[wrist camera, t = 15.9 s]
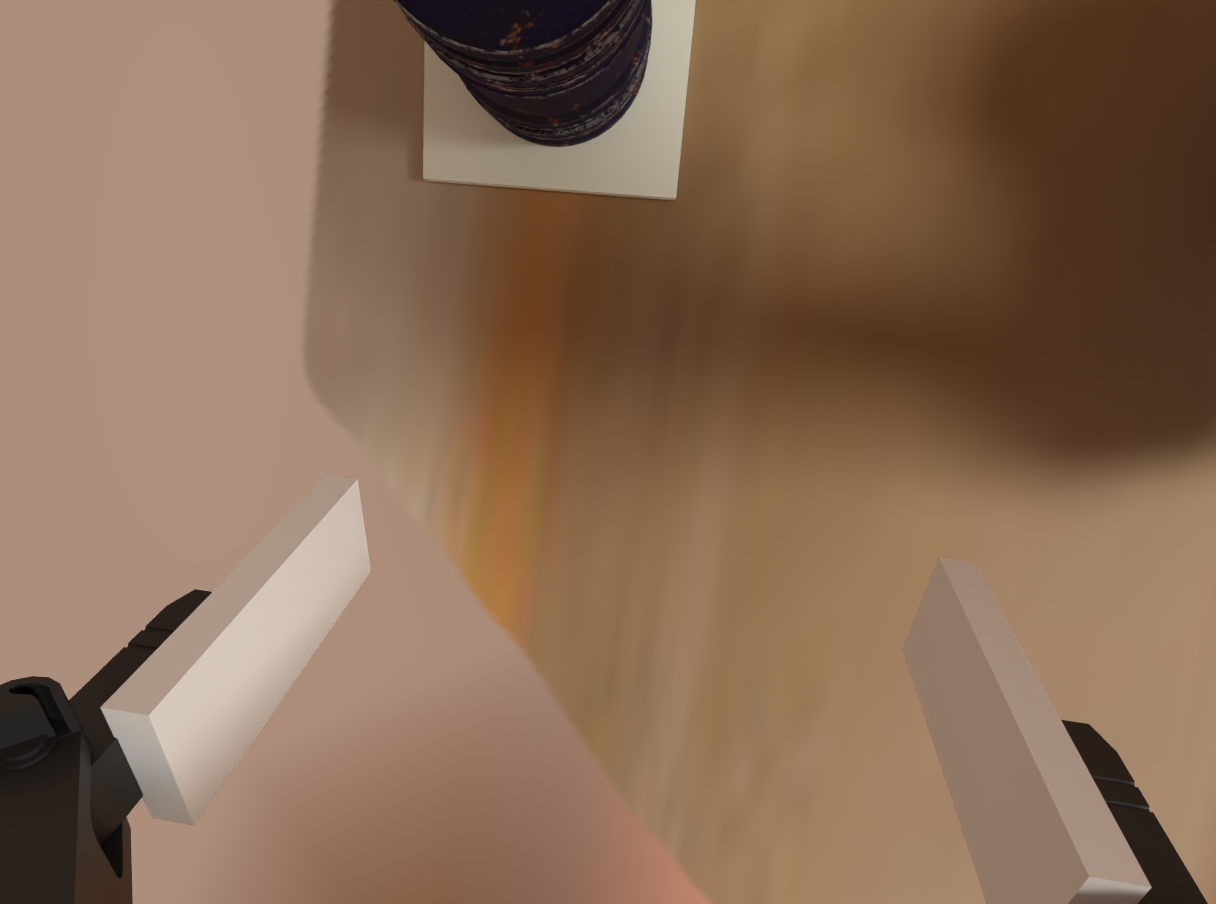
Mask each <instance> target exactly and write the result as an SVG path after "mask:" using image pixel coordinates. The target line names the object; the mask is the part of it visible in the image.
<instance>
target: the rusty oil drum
mask: <svg viewBox="0 0 1216 904" xmlns="http://www.w3.org/2000/svg"><path fill="white" fill-rule="evenodd" d="M394 1H395V2H396V3H397V5H398V6H399V7H400V8H401V10H402V12H403V13H404V15H405V17H406V18H407V20H408V21H409V22H410V24H411V25H412V26H413V27H414V28H415V30H416V31H417V32H418V33H419V34H420V36H421V37H422V38H423V39H424V40H425V42H426V43H427V44H428V45H429V46H430V47H431V48H432V50H433V51H434V52H435V53H436V55H437V56H438V57H439V58H440V59H441V60H442V61H443V62H444V63H445V64H446V65H447V66H449V67H450V68H451V69H452V70H453V71H454V72H455V73H457V74H458V75H459V77H460V78H461V80H462V81H463V83H464V85H465V86H466V88H467V90H468V91H469V92H470V93H471V95H472V96H473V97H474V98H475V100H476V101H477V102H478V103H479V104H480V106H481V107H482V108H483V109H484V110H485V111H486V112H488V113H489V114H490V115H491V116H492V117H493V118H494V119H495V120H497V121H498V122H499V123H500V124H501V125H502V126H503V127H504V128H505V129H507V130H508V131H510V132H511V133H513V134H514V135H516V136H518V137H519V138H522V139H524V140H526V141H529V142H531V143H535V144H539V145H543V146H551V147H565V146H574V145H577V144H581V143H585V142H587V141H590V140H592V139H594V138H596V137H598V136H600V135H601V134H603V133H604V132H606V131H607V130H609V129H610V128H611V127H613V126H614V125H615V124H616V123H617V122H618V121H619V120H620V119H621V118H622V117H623V115H624V114H625V113H626V112H627V110H628V109H629V108H630V107H631V105H632V103H633V101H634V100H635V98H636V96H637V94H638V92H639V90H640V87H641V84H642V82H643V79H644V76H645V71H646V67H647V62H648V54H649V50H650V46H651V34H652V2H651V0H394Z"/></svg>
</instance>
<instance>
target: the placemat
mask: <svg viewBox="0 0 1216 904" xmlns="http://www.w3.org/2000/svg"><path fill="white" fill-rule="evenodd" d="M695 1H696V0H651V2H652V34H651V46H650V50H649V54H648V62H647V67H646V71H645V76H644V79H643V82H642V84H641V87H640V90H639V92H638V94H637V96H636V98H635V100H634V101H633V103H632V105H631V107H630V108H629V109H628V110H627V112H626V113H625V114H624V115H623V117H622V118H621V119H620V120H619V121H618V122H617V123H616V124H615V125H614V126H613V127H611V128H610V129H609V130H607V131H606V132H604V133H603V134H601V135H600V136H598V137H596V138H594V139H592V140H590V141H587V142H585V143H581V144H577V145H574V146H565V147H551V146H543V145H539V144H535V143H531V142H529V141H526V140H524V139H522V138H519V137H518V136H516V135H514V134H513V133H511V132H510V131H508V130H507V129H505V128H504V127H503V126H502V125H501V124H500V123H499V122H498V121H497V120H495V119H494V118H493V117H492V116H491V115H490V114H489V113H488V112H486V111H485V110H484V109H483V108H482V107H481V106H480V104H479V103H478V102H477V101H476V100H475V98H474V97H473V96H472V95H471V93H470V92H469V91H468V90H467V88H466V86H465V85H464V83H463V81H462V80H461V78H460V77H459V75H458V74H457V73H455V72H454V71H453V70H452V69H451V68H450V67H449V66H447V65H446V64H445V63H444V62H443V61H442V60H441V59H440V58H439V57H438V56H437V55H436V53H435V52H434V51H433V50H432V48H431V47H430V46H429V45H428V44H427V43H426V42H425V40H424V133H423V179H425V180H427V181H432V182H445V183H458V184H470V185H483V186H496V187H508V188H521V189H534V190H546V191H559V192H571V193H584V194H597V195H609V196H622V197H635V198H647V199H660V200H673V201H675V200H676V194H677V184H678V174H679V164H680V154H681V144H682V133H683V123H684V113H685V103H686V93H687V83H688V73H689V62H690V52H691V42H692V32H693V22H694V12H695Z"/></svg>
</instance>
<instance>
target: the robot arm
mask: <svg viewBox="0 0 1216 904" xmlns="http://www.w3.org/2000/svg"><path fill="white" fill-rule="evenodd" d="M370 571H371V570H370V563H369V556H368V548H367V542H366V534H365V527H364V520H363V514H362V507H361V500H360V493H359V486H358V479H352V478H345V477H337V476H330V475H326V476H325V477H324V478H323V479H322V480H321V481H320V482H319V483H318V484H317V485H316V486H315V487H314V488H313V489H312V490H311V491H310V492H309V493H308V494H307V495H306V496H305V497H304V498H303V499H302V500H301V501H300V503H299V504H298V505H297V506H296V507H295V508H294V509H293V510H292V511H291V512H290V513H289V514H288V515H287V516H286V517H285V518H284V519H283V520H282V521H281V522H280V523H279V524H278V525H277V526H276V527H275V528H274V530H272V531H271V532H270V533H269V534H268V535H267V536H266V538H265V539H264V540H263V541H262V542H261V543H260V544H259V545H258V546H257V547H256V548H255V549H254V550H253V551H252V552H251V553H250V554H249V555H248V556H247V557H246V558H245V559H244V560H243V561H242V562H241V563H240V564H239V565H238V566H237V567H236V568H235V569H234V570H233V572H232V573H231V574H230V575H229V576H228V577H227V578H226V579H225V580H224V581H223V582H222V583H221V584H220V585H219V586H218V587H217V588H216V589H215V590H214V591H213V592H209V591H202V590H196V589H195V590H193V591H191V592H190V593H188V594H186V595H185V596H183V597H181V598H180V599H178V600H176V601H175V602H173V603H171V604H169V605H167V606H166V607H165V608H164V609H163V610H162V611H161V612H160V613H159V614H158V615H157V616H156V617H155V618H154V619H153V620H152V621H151V622H150V623H149V624H148V625H147V626H146V629H145V630H144V631H143V630H142V631H140V632H139V633H138V634H137V635H136V636H135V637H134V638H133V639H132V640H131V641H130V642H129V643H128V647H127V648H125V647H124V648H123V649H122V650H121V651H120V652H119V653H118V654H117V655H116V656H114V657H113V658H112V659H111V660H110V661H109V662H108V663H107V665H105V666H104V667H103V668H102V669H101V670H100V671H99V672H98V673H97V674H96V675H95V676H94V677H93V678H92V679H91V680H90V681H89V682H88V683H87V684H86V685H85V686H84V687H82V689H80V690H79V692H77V693H76V694H75V695H74V696H73V697H72V698H71V699H70V700H69V701H68V699H67V697H66V695H65V693H64V691H63V689H62V687H61V685H60V683H58V682H56V681H54V680H53V679H51V678H49V677H34V676H32V677H27V678H22V679H17V680H11V681H9V682H6V683H4V684H2V685H0V904H132V866H131V829H130V825H129V823H128V820H127V817H126V816H127V815H128V814H129V812H130V811H131V810H132V809H133V808H134V806H135V805H136V804H137V802H138V801H139V800H140V799H141V797H142V798H143V800H144V802H145V804H146V806H147V808H148V811H149V813H150V815H151V817H152V818H156V819H161V820H167V821H172V822H178V823H183V824H188V825H195V824H196V822H197V821H198V820H199V818H200V817H201V815H202V814H203V813H204V811H205V810H206V808H207V807H208V805H209V804H210V802H211V801H212V800H213V798H214V797H215V795H216V794H217V792H218V791H219V789H220V788H221V787H222V785H223V784H224V782H225V780H226V779H227V778H228V776H229V775H230V774H231V772H232V771H233V769H234V768H235V766H236V765H237V763H238V762H239V761H240V759H241V758H242V756H243V755H244V753H245V752H246V750H247V749H248V747H249V746H250V744H251V743H252V742H253V740H254V739H255V737H256V736H257V735H258V733H259V732H260V730H261V729H262V727H263V726H264V724H265V723H266V722H267V720H268V719H269V717H270V716H271V714H272V713H273V711H274V710H275V709H276V707H277V706H278V704H279V703H280V701H281V700H282V698H283V697H284V696H285V694H286V693H287V691H288V690H289V688H290V687H291V685H292V684H293V683H294V681H295V680H296V678H297V677H298V675H299V674H300V672H301V671H302V670H303V668H304V667H305V665H306V664H307V662H308V661H309V659H310V658H311V657H312V655H313V654H314V652H315V651H316V649H317V648H318V646H319V645H320V643H321V642H322V640H323V639H324V638H325V636H326V635H327V634H328V632H329V631H330V629H331V628H332V626H333V625H334V623H335V622H336V621H337V619H338V618H339V616H340V615H341V613H342V612H343V610H344V609H345V607H346V606H347V605H348V603H349V602H350V600H351V599H352V597H353V596H354V594H355V593H356V592H357V590H358V589H359V587H360V586H361V584H362V583H363V581H364V580H365V579H366V577H367V576H368V574H369V573H370ZM902 650H903V653H904V656H905V659H906V662H907V665H908V668H909V671H910V674H911V677H912V680H913V683H914V686H915V689H916V692H917V695H918V698H919V701H920V704H921V707H922V710H923V713H924V716H925V719H926V722H927V725H928V728H929V731H930V734H931V737H932V740H933V743H934V746H935V749H936V752H937V755H938V758H939V761H940V764H941V768H942V771H943V774H944V777H945V780H946V783H947V786H948V789H949V792H950V795H951V798H952V801H953V804H954V807H955V810H956V813H957V816H958V819H959V822H960V825H961V828H962V831H963V834H964V837H965V840H966V843H967V846H968V849H969V852H970V855H971V858H972V861H973V864H974V867H975V870H976V873H977V876H978V879H979V882H980V885H981V888H982V891H983V894H984V897H985V900H986V903H987V904H1208V903H1207V902H1206V900H1205V898H1204V897H1203V895H1202V893H1201V892H1200V890H1199V888H1198V887H1197V885H1196V883H1195V882H1194V880H1193V878H1192V877H1191V875H1190V873H1189V872H1188V870H1187V868H1186V867H1185V865H1184V863H1183V862H1182V860H1181V858H1180V857H1179V855H1178V853H1177V852H1176V850H1175V848H1174V847H1173V845H1172V843H1171V842H1170V840H1169V838H1168V837H1167V835H1166V833H1165V832H1164V830H1163V828H1162V827H1161V825H1160V823H1159V822H1158V820H1157V818H1156V817H1155V815H1154V813H1153V812H1150V811H1149V805H1148V803H1147V802H1146V800H1145V798H1144V797H1143V795H1142V793H1141V792H1140V790H1139V788H1138V787H1135V786H1134V780H1133V778H1132V777H1131V775H1130V773H1129V772H1128V770H1127V768H1126V766H1125V765H1124V763H1123V761H1122V760H1121V758H1120V756H1119V755H1118V753H1117V752H1116V751H1115V750H1114V749H1113V748H1112V747H1111V746H1110V745H1109V744H1108V743H1107V742H1106V741H1105V740H1104V739H1103V738H1102V737H1101V736H1100V735H1099V734H1098V733H1097V732H1096V731H1095V730H1094V729H1093V728H1092V727H1091V726H1090V725H1089V724H1085V723H1078V722H1071V721H1065V720H1061V719H1060V717H1059V715H1058V714H1057V712H1056V710H1055V708H1054V706H1053V704H1052V702H1051V701H1050V699H1049V697H1048V695H1047V693H1046V691H1045V690H1044V688H1043V686H1042V684H1041V682H1040V680H1039V678H1038V677H1037V675H1036V673H1035V671H1034V669H1033V667H1032V666H1031V664H1030V662H1029V660H1028V658H1027V656H1026V654H1025V653H1024V651H1023V649H1022V647H1021V645H1020V643H1019V642H1018V640H1017V638H1016V636H1015V634H1014V632H1013V630H1012V629H1011V627H1010V625H1009V623H1008V621H1007V619H1006V618H1005V616H1004V614H1003V612H1002V610H1001V608H1000V606H999V605H998V603H997V601H996V599H995V597H994V595H993V594H992V592H991V590H990V588H989V586H988V584H987V582H986V581H985V579H984V577H983V575H982V573H981V571H980V570H979V568H978V566H977V564H976V562H969V561H961V560H954V559H947V558H938V561H937V563H936V566H935V568H934V571H933V573H932V576H931V578H930V581H929V583H928V586H927V588H926V591H925V593H924V596H923V598H922V601H921V603H920V606H919V608H918V611H917V613H916V616H915V618H914V621H913V623H912V626H911V628H910V631H909V633H908V636H907V638H906V641H905V643H904V646H903V648H902Z"/></svg>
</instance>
